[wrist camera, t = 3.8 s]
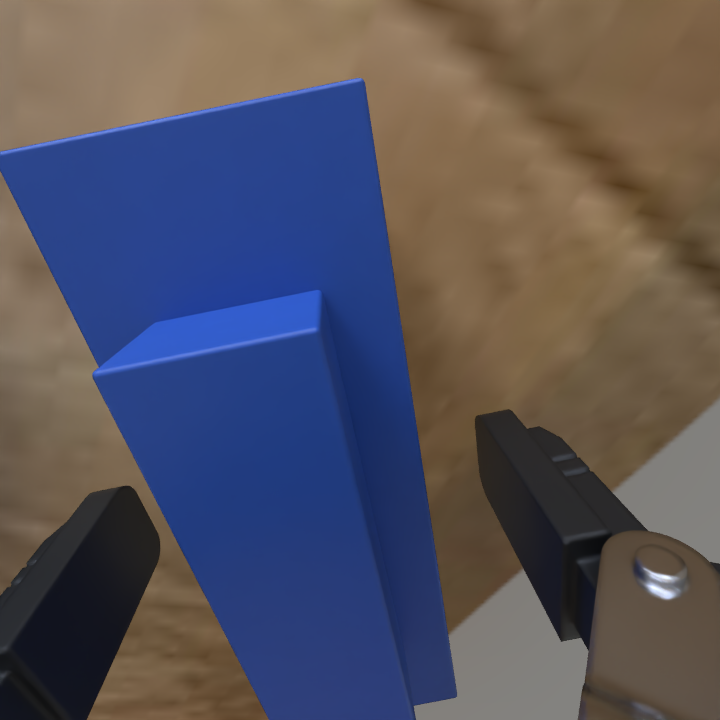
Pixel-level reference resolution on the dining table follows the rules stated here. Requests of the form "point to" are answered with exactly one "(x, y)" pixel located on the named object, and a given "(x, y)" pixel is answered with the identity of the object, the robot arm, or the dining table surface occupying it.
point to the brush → (261, 381)
